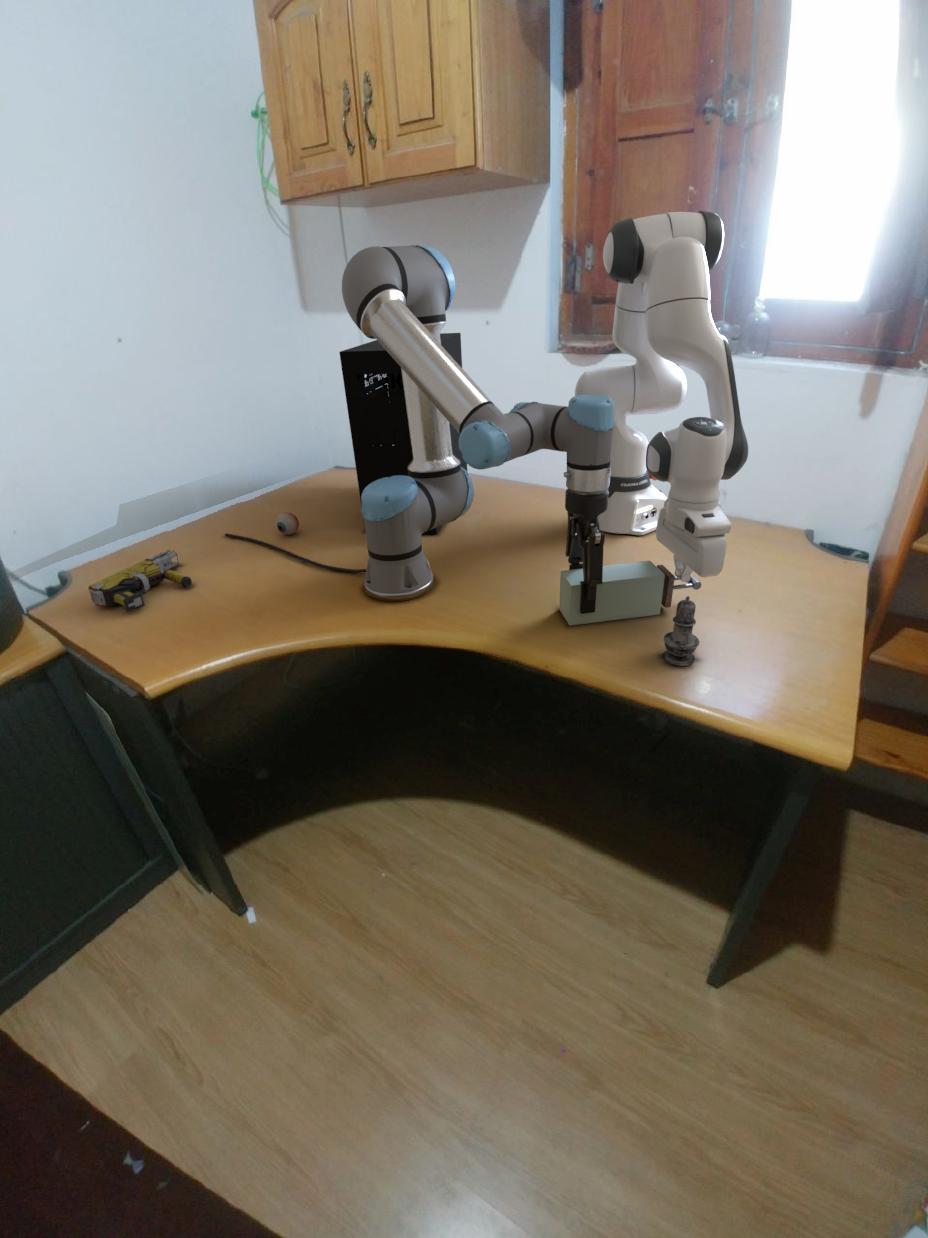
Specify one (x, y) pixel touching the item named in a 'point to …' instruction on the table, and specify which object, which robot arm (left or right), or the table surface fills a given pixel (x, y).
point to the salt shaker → (681, 636)
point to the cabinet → (614, 593)
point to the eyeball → (287, 523)
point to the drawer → (670, 586)
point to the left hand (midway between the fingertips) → (581, 602)
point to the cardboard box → (384, 412)
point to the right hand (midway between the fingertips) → (682, 578)
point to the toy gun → (136, 582)
